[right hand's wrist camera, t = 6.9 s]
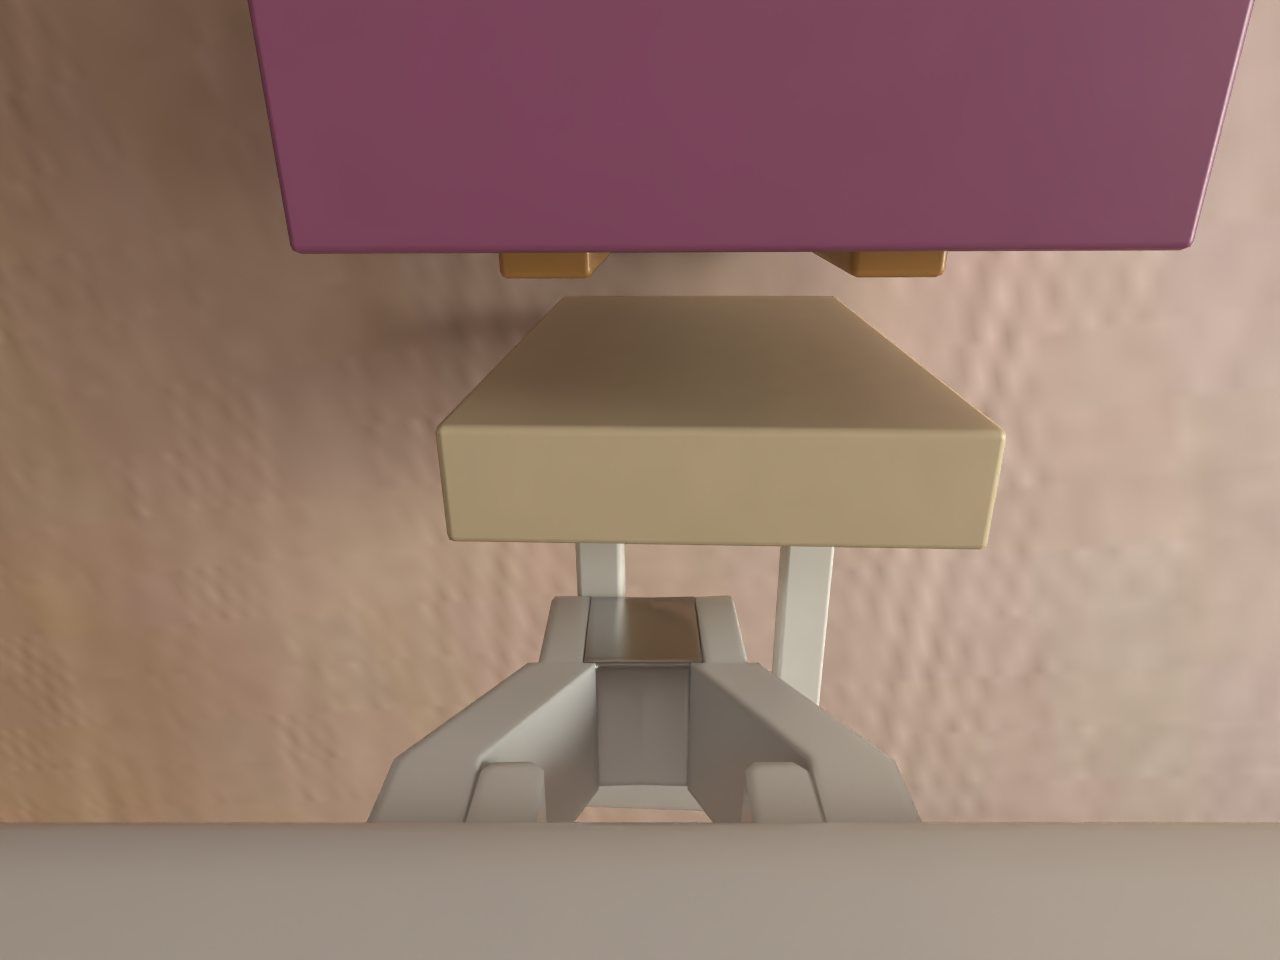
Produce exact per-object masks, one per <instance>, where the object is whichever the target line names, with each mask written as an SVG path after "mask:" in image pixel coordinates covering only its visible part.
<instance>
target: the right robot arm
mask: <svg viewBox="0 0 1280 960" xmlns="http://www.w3.org/2000/svg"><path fill="white" fill-rule="evenodd" d="M628 785H657V786H687V789H688V791H689V792H690V793H691V795H692V796H693V797H694V799H695V800H696V801H697V802H698V804H699V805H700V806H701V808H702V809H703V810H704V811H705V813H706V814H707V815H708V817H709V818H710V819H711V820H712V822H713V823H574V821H575V820H576V819H577V817H578V816H579V815H580V813H581V812H582V811H583V810H584V808H585V807H586V806H587V804H588V803H589V802H590V801H591V799H592V798H593V797H594V795H595V794H596V793H597V791H598V790H599V786H628ZM0 960H1280V823H922V821H921V819H920V817H919V814H918V812H917V810H916V808H915V805H914V803H913V801H912V799H911V796H910V794H909V792H908V789H907V787H906V785H905V783H904V780H903V778H902V776H901V774H900V771H899V769H898V767H897V764H896V762H895V760H894V759H892V758H891V757H890V756H888V755H887V754H885V753H884V752H883V751H881V750H880V749H878V748H877V747H876V746H874V745H873V744H871V743H870V742H869V741H867V740H866V739H864V738H863V737H862V736H860V735H859V734H857V733H856V732H855V731H853V730H852V729H850V728H849V727H847V726H846V725H845V724H843V723H842V722H840V721H839V720H838V719H836V718H835V717H833V716H832V715H831V714H829V713H828V712H826V711H825V710H824V709H822V708H821V707H819V706H818V705H817V704H815V703H814V702H812V701H811V700H810V699H808V698H807V697H805V696H804V695H803V694H801V693H800V692H798V691H797V690H796V689H794V688H793V687H791V686H790V685H789V684H787V683H786V682H784V681H783V680H782V679H780V678H779V677H777V676H776V675H775V674H773V673H772V672H770V671H769V670H768V669H766V668H765V667H763V666H762V665H761V664H759V663H748V662H747V657H746V653H745V649H744V644H743V640H742V636H741V631H740V627H739V623H738V618H737V614H736V610H735V605H734V601H733V598H732V597H731V596H708V597H659V598H645V597H592V598H590V596H556V597H555V598H554V599H553V600H552V602H551V607H550V612H549V616H548V621H547V626H546V630H545V635H544V640H543V644H542V649H541V654H540V658H539V663H527V664H526V665H525V666H523V667H522V668H520V669H519V670H518V671H516V672H515V673H513V674H512V675H511V676H509V677H508V678H506V679H505V680H504V681H502V682H501V683H499V684H498V685H497V686H495V687H494V688H492V689H491V690H490V691H488V692H487V693H485V694H484V695H483V696H481V697H480V698H478V699H477V700H476V701H474V702H473V703H472V704H470V705H469V706H467V707H466V708H465V709H463V710H462V711H460V712H459V713H458V714H456V715H455V716H453V717H452V718H451V719H449V720H448V721H446V722H445V723H444V724H442V725H441V726H439V727H438V728H437V729H435V730H434V731H432V732H431V733H430V734H428V735H427V736H426V737H424V738H423V739H421V740H420V741H419V742H417V743H416V744H414V745H413V746H412V747H410V748H409V749H407V750H406V751H405V752H403V753H402V754H400V755H399V756H398V757H396V758H395V759H394V761H393V763H392V765H391V768H390V770H389V772H388V774H387V777H386V779H385V781H384V784H383V786H382V788H381V791H380V793H379V795H378V797H377V800H376V802H375V804H374V807H373V809H372V811H371V814H370V816H369V818H368V820H367V823H0Z"/></svg>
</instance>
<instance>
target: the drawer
mask: <svg viewBox="0 0 1280 960" xmlns="http://www.w3.org/2000/svg"><path fill="white" fill-rule="evenodd" d="M947 252H948V251H864V252H813V253H815V254H817V255H818V256H820V257H822V258H823V259H825V260H827V261H829V262H830V263H832V264H834V265H835V266H837V267H839V268H841V269H842V270H844V271H846V272H848V273H849V274H851V275H853V276H855V277H937V276H939V275H942V274H943V272H944V270H945V266H946V259H947ZM610 254H611V253H499V262H500V272H501V274H502V276H503V277H506V278H586V277H589V276H590V275H591V274H592V273H593V272H594V271H595V270H596V269H597V268H598V267H599V265H600V264H601V263H602V262H603V261H604V260H605V259H606V258H607V257H608V256H609V255H610ZM436 441H437V449H438V458H439V467H440V475H441V484H442V493H443V501H444V510H445V519H446V527H447V534H448V537H449V539H450V540H453V541H480V542H545V543H575V544H576V566H577V588H578V596H590V598H592V597H625V544H673V545H737V546H781V547H780V561H779V576H778V591H777V605H776V620H775V634H774V649H773V664H772V673H773V674H775V675H776V676H777V677H779V678H780V679H782V680H783V681H784V682H786V683H787V684H789V685H790V686H791V687H793V688H794V689H796V690H797V691H798V692H800V693H801V694H803V695H804V696H805V697H807V698H808V699H810V700H811V701H812V702H814V703H815V704H817V705H818V706H819V697H820V687H821V677H822V667H823V656H824V646H825V636H826V626H827V616H828V605H829V595H830V585H831V575H832V565H833V555H834V547H866V548H930V549H982V548H985V546H986V545H987V542H988V536H989V531H990V525H991V520H992V514H993V509H994V503H995V498H996V492H997V487H998V481H999V476H1000V470H1001V465H1002V459H1003V454H1004V449H1005V443H1006V434H1005V431H1004V430H1003V429H1002V428H1001V427H999V426H998V425H997V424H996V423H994V422H993V421H992V420H990V419H989V418H988V417H987V416H985V415H984V414H983V413H982V412H980V411H979V410H978V409H977V408H975V407H974V406H973V405H971V404H970V403H969V402H968V401H966V400H965V399H964V398H963V397H961V396H960V395H959V394H957V393H956V392H955V391H954V390H952V389H951V388H950V387H949V386H947V385H946V384H945V383H943V382H942V381H941V380H940V379H938V378H937V377H936V376H935V375H933V374H932V373H931V372H930V371H928V370H927V369H926V368H924V367H923V366H922V365H921V364H919V363H918V362H917V361H916V360H914V359H913V358H912V357H910V356H909V355H908V354H907V353H905V352H904V351H903V350H902V349H900V348H899V347H898V346H896V345H895V344H894V343H893V342H891V341H890V340H889V339H888V338H886V337H885V336H884V335H883V334H881V333H880V332H879V331H877V330H876V329H875V328H874V327H872V326H871V325H870V324H869V323H867V322H866V321H865V320H863V319H862V318H861V317H860V316H858V315H857V314H856V313H855V312H853V311H852V310H851V309H850V308H848V307H847V306H846V305H844V304H843V303H842V302H841V301H839V300H838V299H837V298H835V297H833V296H621V297H564V298H562V299H561V300H560V301H559V302H558V303H557V304H556V305H555V306H554V307H553V308H552V309H551V311H550V312H549V313H548V314H547V315H546V316H545V317H544V318H543V319H542V320H541V321H540V322H539V323H538V324H537V325H536V326H535V327H534V328H533V329H532V330H531V331H530V332H529V333H528V334H527V335H526V336H525V337H524V338H523V339H522V340H521V341H520V342H519V343H518V344H517V345H516V346H515V347H514V348H513V349H512V350H511V351H510V353H509V354H508V355H507V356H506V357H505V358H504V359H503V360H502V361H501V362H500V363H499V364H498V365H497V366H496V367H495V368H494V369H493V370H492V371H491V372H490V373H489V374H488V375H487V376H486V377H485V378H484V379H483V380H482V381H481V382H480V383H479V384H478V385H477V386H476V387H475V388H474V389H473V390H472V391H471V392H470V394H469V395H468V396H467V397H466V398H465V399H464V400H463V401H462V402H461V403H460V404H459V405H458V406H457V407H456V408H455V409H454V410H453V411H452V412H451V413H450V414H449V415H448V416H447V417H446V418H445V419H444V420H443V421H442V422H441V423H440V424H439V425H438V427H437V430H436ZM586 807H611V808H641V809H671V810H701V811H704V810H703V809H702V808H701V806H700V805H699V804H698V802H697V801H696V800H695V799H694V797H693V796H692V795H691V793H690V792H689V791H688V789H687V786H657V785H628V786H599V790H598V791H597V793H596V794H595V795H594V797H593V798H592V799H591V801H590V802H589V803H588V804H587V806H586Z"/></svg>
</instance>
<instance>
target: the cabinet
mask: <svg viewBox="0 0 1280 960" xmlns="http://www.w3.org/2000/svg"><path fill="white" fill-rule="evenodd" d="M1254 1H1255V0H248V4H249V10H250V16H251V22H252V27H253V33H254V39H255V45H256V50H257V56H258V62H259V68H260V73H261V79H262V85H263V91H264V96H265V102H266V108H267V114H268V119H269V125H270V131H271V137H272V142H273V148H274V154H275V160H276V165H277V171H278V177H279V183H280V188H281V194H282V200H283V206H284V211H285V217H286V223H287V229H288V234H289V240H290V245H291V247H292V249H293V250H294V251H296V252H298V253H301V254H366V253H615V252H864V251H1113V250H1182V249H1184V248H1187V247H1190V246H1191V244H1192V242H1193V241H1194V237H1195V233H1196V229H1197V225H1198V221H1199V218H1200V214H1201V210H1202V206H1203V202H1204V198H1205V194H1206V190H1207V186H1208V182H1209V178H1210V174H1211V170H1212V166H1213V162H1214V159H1215V155H1216V151H1217V147H1218V143H1219V139H1220V135H1221V131H1222V127H1223V123H1224V119H1225V115H1226V111H1227V107H1228V103H1229V99H1230V96H1231V92H1232V88H1233V84H1234V80H1235V76H1236V72H1237V68H1238V64H1239V60H1240V56H1241V52H1242V48H1243V44H1244V40H1245V37H1246V33H1247V29H1248V25H1249V21H1250V17H1251V13H1252V9H1253V5H1254Z"/></svg>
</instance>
